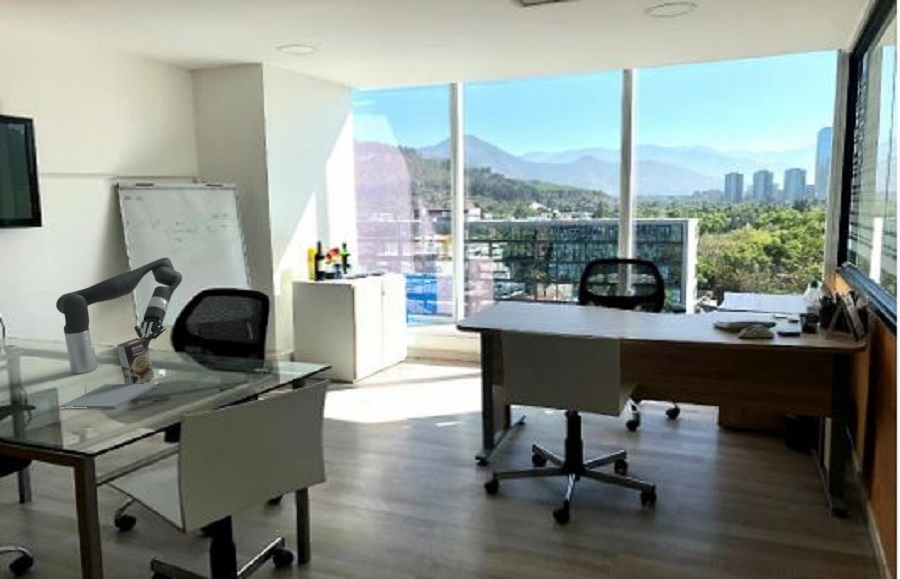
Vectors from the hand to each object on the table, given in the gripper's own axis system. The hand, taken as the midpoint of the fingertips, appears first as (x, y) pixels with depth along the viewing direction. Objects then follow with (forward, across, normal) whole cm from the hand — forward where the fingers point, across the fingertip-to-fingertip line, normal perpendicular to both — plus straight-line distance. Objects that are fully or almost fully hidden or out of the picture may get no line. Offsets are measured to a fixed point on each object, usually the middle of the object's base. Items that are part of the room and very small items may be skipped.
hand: (143, 347), depth 268 cm
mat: (+24, +2, +6) cm, 25 cm away
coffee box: (+11, +1, -6) cm, 13 cm away
